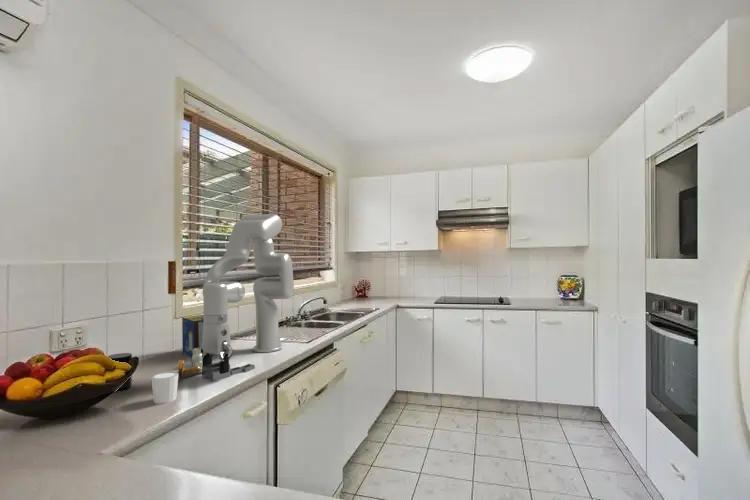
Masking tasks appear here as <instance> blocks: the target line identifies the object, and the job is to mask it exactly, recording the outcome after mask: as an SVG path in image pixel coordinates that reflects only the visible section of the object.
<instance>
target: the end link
mask: <svg viewBox="0 0 750 500" xmlns="http://www.w3.org/2000/svg"><path fill="white" fill-rule="evenodd" d="M219 362H220V361H217V362H214V363H213V362H212V364H209V365H205V366H202V367H201V369H202V374H201V378H202V379H203V380H207V381H210V382H216V381H220V380H223V379H226V378H229V377H231V375H230V369H231V363H229V372H227V373H223V374H220V373H219Z"/></svg>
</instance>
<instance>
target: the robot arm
mask: <svg viewBox="0 0 750 500" xmlns="http://www.w3.org/2000/svg"><path fill="white" fill-rule="evenodd" d="M282 228H283V221H282V218H281V217H280V216H279V215H278V214H275V213H273V214H272V213H269V214H268V213H267V214H266V213H265V214H248V215H244V216H242V217H241V218H240V220H239V221H236V223H235V224H234V225H233V227H232V230H231V233H230V236H229V240H228V244H227V247H226V251H225V254H223V256H221V257H220V258H219V259H218V260H217V261H216V262H214V264H213V265H212V266H211V267H210V268H209V270H208V271H207V273H206V276H205V279H204V283H203V287H202V297H203V301H202V302H203V313H202V315H204V323H203V325H204V327H203V337H202V342H201V343H200V348H201V353H202V358H203V366H205V365H209V364H213V357H212V356H211V354H213V356H218V358H219V360H220V361H218V362H219V373H220V374H223V373H227V372H229V364H230V360H231V357H232V353H233V350H234V348H233V347H232V345H231V332H230V331H231V330H230V326H229V323H228V303H233V304H234V303H239V302H240V301H242V300H243V298H244V297H245V294H246V288H245V286H244V285H243V284H242V283H241V282H238V281H220V280H221V279H222V278H223V276H224V275H225V274H227V273H228V272H229V271H232V270H233V269H236V268H238V267H240V266H242V265H244V264H245V263H247V262H248V261H249V259H250V254H251V251H252V248H253V256H254V257H253V258H254V268H255V271H256V273H257V274H259V275H262V276H263V275H264V276H266V277H260V278H258V279H256V280H255V281H254V283H253V287H252V288H253V289H252V290H253V295H254V303H255V345H254V346H253V347H252V352H255V353H272V352H278V351H280V350H282V349H283V345H282V343H285V342H287V337H280V336H279V308H278V305H277V303H276V302H275V301H274V300H287V299H291V298H292V296H293V295H294V290H295V288H294V283H295V282H294V270H293V260H292V258H291V256H290V254H288V253H286V252H275V248H274V247H275V246H274V241H273V238H274V237H276V236H277V235H279V233H280V232H281V231H282ZM252 246H253V247H252ZM267 275H269V276H270V277H267ZM272 275H274V276H275V275H276V276H279V277H276V276H275V277H274V276H273V277H271V276H272Z"/></svg>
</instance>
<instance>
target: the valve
mask: <svg viewBox="0 0 750 500" xmlns="http://www.w3.org/2000/svg"><path fill="white" fill-rule="evenodd" d="M211 356H212V358H213V357H214V355H212V354H211ZM191 361H192V367H196V366H200V368H202V366H203V358H202V353H201V348H194V349H193V356H192V357H191Z"/></svg>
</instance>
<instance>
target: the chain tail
mask: <svg viewBox="0 0 750 500" xmlns="http://www.w3.org/2000/svg"><path fill="white" fill-rule="evenodd" d="M254 369H256V366H255V364H252V363H247V364H245V365H242V366H236V367H232V368H230V376H234V375H236V374H237V375H238V374H240V373H247V372H249V371H251V370H254Z"/></svg>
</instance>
